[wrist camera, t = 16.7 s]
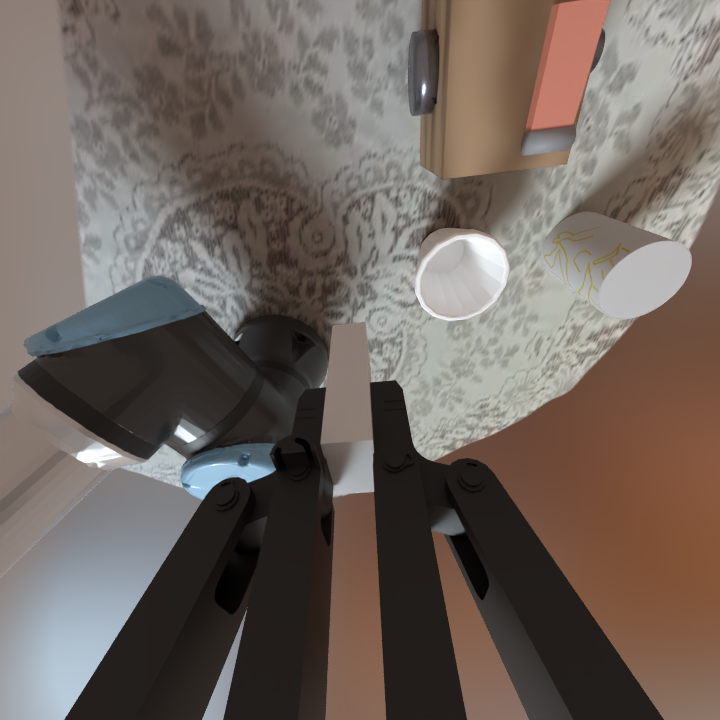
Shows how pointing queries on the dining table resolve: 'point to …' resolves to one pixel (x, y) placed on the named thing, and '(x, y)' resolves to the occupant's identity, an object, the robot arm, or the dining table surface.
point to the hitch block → (485, 86)
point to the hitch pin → (426, 70)
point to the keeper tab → (562, 75)
